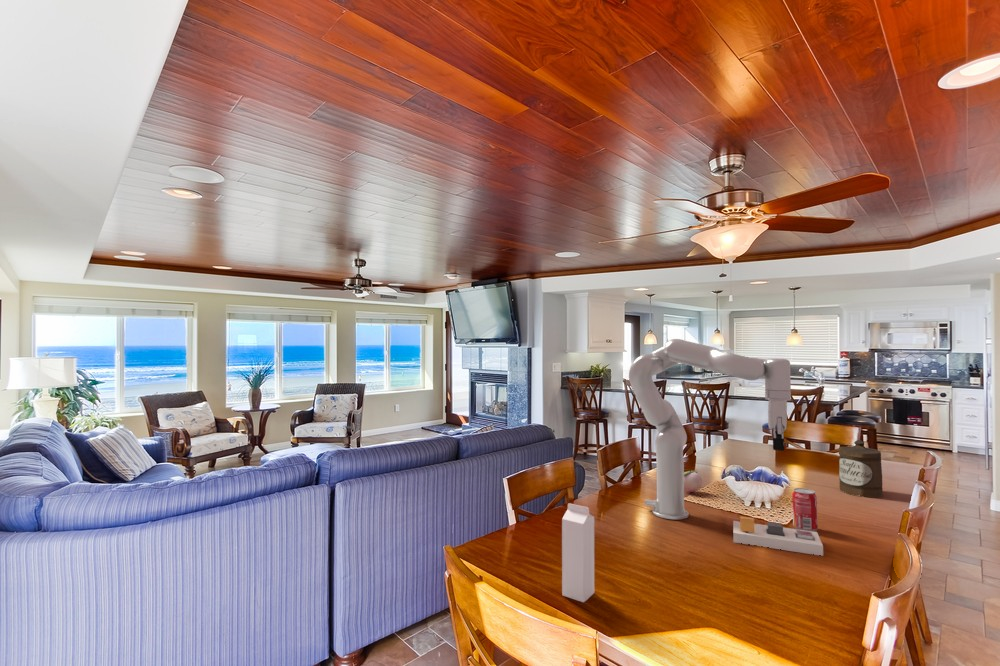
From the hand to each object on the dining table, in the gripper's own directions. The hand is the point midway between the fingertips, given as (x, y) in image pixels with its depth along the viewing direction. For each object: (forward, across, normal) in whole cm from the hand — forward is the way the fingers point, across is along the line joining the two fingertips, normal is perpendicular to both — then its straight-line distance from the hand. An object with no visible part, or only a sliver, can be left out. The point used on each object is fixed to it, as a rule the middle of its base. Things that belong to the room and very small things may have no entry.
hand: (778, 449), depth 167 cm
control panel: (+27, +11, -2) cm, 29 cm away
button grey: (+27, +11, +6) cm, 29 cm away
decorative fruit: (+27, -34, -30) cm, 53 cm away
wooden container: (+27, -66, +35) cm, 80 cm away
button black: (+25, +11, -2) cm, 27 cm away
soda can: (+27, -6, +8) cm, 29 cm away
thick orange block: (+27, +14, -10) cm, 32 cm away
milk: (+27, +70, -49) cm, 90 cm away
